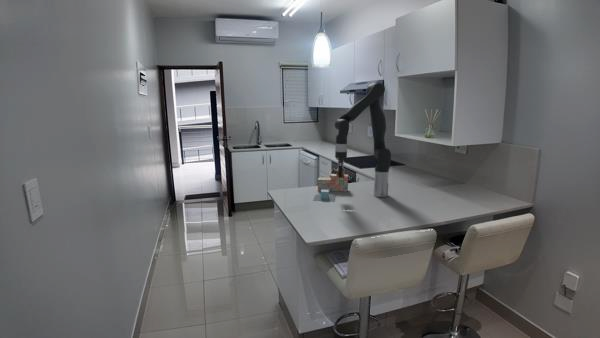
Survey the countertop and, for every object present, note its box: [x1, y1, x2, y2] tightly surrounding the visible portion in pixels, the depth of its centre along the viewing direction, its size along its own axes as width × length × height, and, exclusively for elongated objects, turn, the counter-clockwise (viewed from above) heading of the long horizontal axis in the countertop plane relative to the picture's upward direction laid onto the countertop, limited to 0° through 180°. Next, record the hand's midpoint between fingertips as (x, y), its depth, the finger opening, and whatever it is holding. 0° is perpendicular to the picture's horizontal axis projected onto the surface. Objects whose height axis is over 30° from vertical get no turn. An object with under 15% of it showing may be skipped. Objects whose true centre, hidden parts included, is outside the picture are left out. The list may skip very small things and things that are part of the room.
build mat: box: [312, 194, 337, 203], centre depth 216 cm, size 14×14×1 cm
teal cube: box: [320, 190, 330, 199], centre depth 215 cm, size 5×5×5 cm
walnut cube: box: [335, 168, 346, 178], centre depth 213 cm, size 5×5×5 cm
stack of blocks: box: [317, 173, 349, 192], centre depth 234 cm, size 21×6×12 cm, turn 84°
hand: (340, 176), depth 214 cm, fingers closed on walnut cube, 5 cm apart
